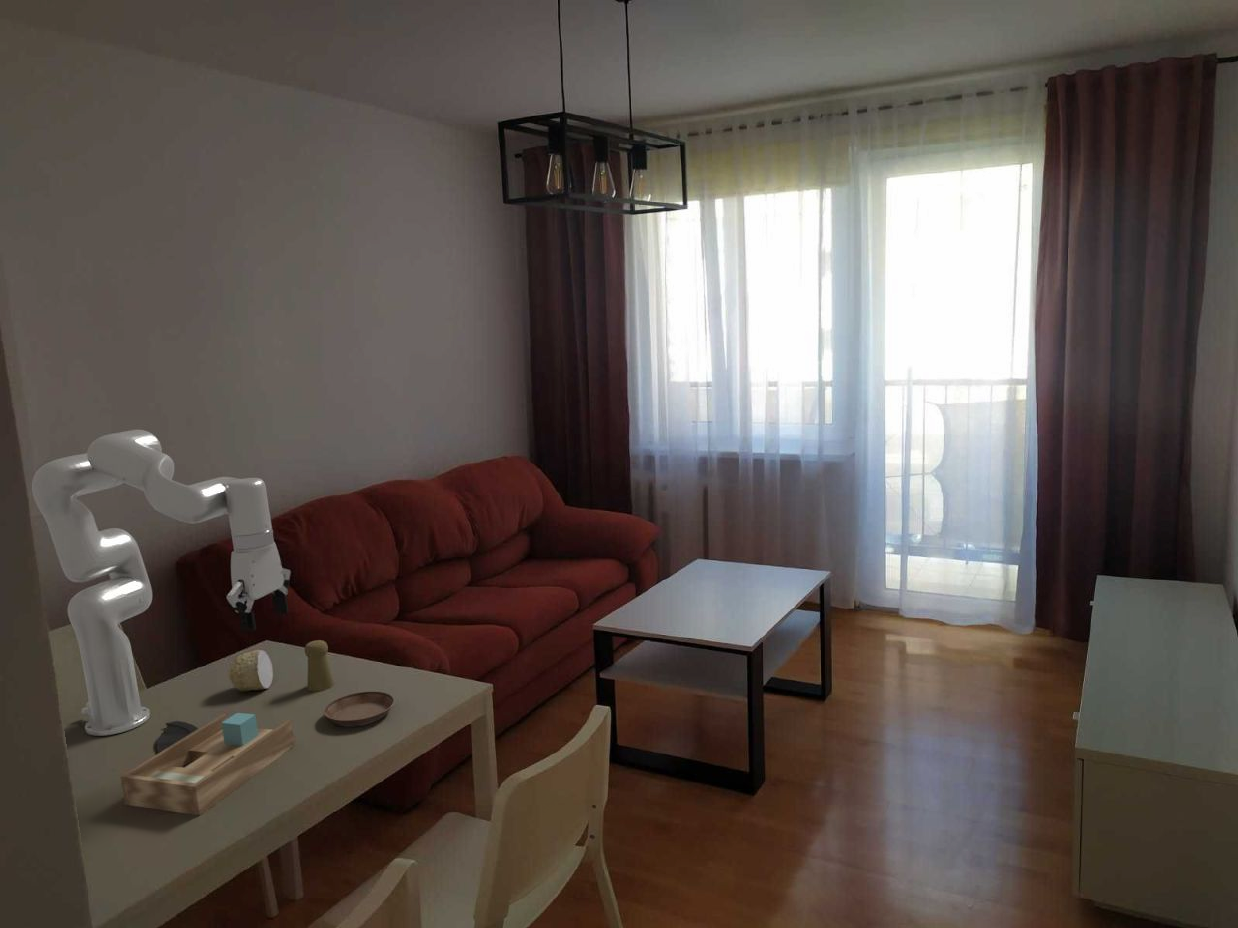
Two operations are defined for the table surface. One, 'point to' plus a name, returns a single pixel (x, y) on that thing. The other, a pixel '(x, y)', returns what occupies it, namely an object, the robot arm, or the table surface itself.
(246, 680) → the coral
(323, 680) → the cork
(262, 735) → the box
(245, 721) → the teal block
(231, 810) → the table surface
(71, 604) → the robot arm
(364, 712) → the saucer
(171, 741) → the fan shaped piece
